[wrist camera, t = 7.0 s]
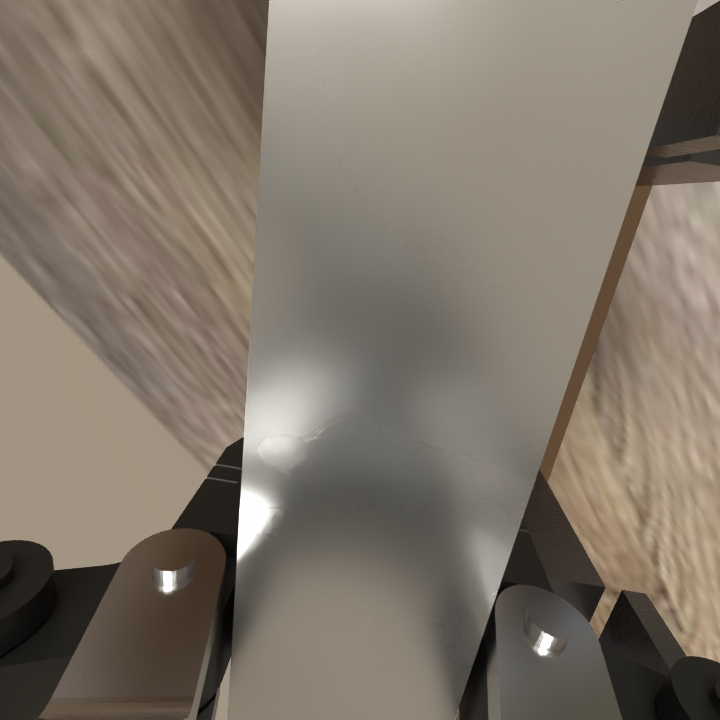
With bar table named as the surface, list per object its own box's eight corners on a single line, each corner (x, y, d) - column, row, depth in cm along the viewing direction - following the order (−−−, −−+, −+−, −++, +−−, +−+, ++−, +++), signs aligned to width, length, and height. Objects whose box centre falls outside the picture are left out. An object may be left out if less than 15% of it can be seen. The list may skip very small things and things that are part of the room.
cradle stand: (439, 469, 31) (483, 713, 16) (529, 103, 23) (779, -73, 8) (536, 485, 31) (671, 744, 16) (661, 123, 23) (1153, -19, 8)
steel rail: (253, 810, 12) (211, 997, 9) (365, -282, 5) (324, -983, 2) (361, 830, 12) (351, 1023, 9) (639, -246, 5) (1006, -911, 2)
